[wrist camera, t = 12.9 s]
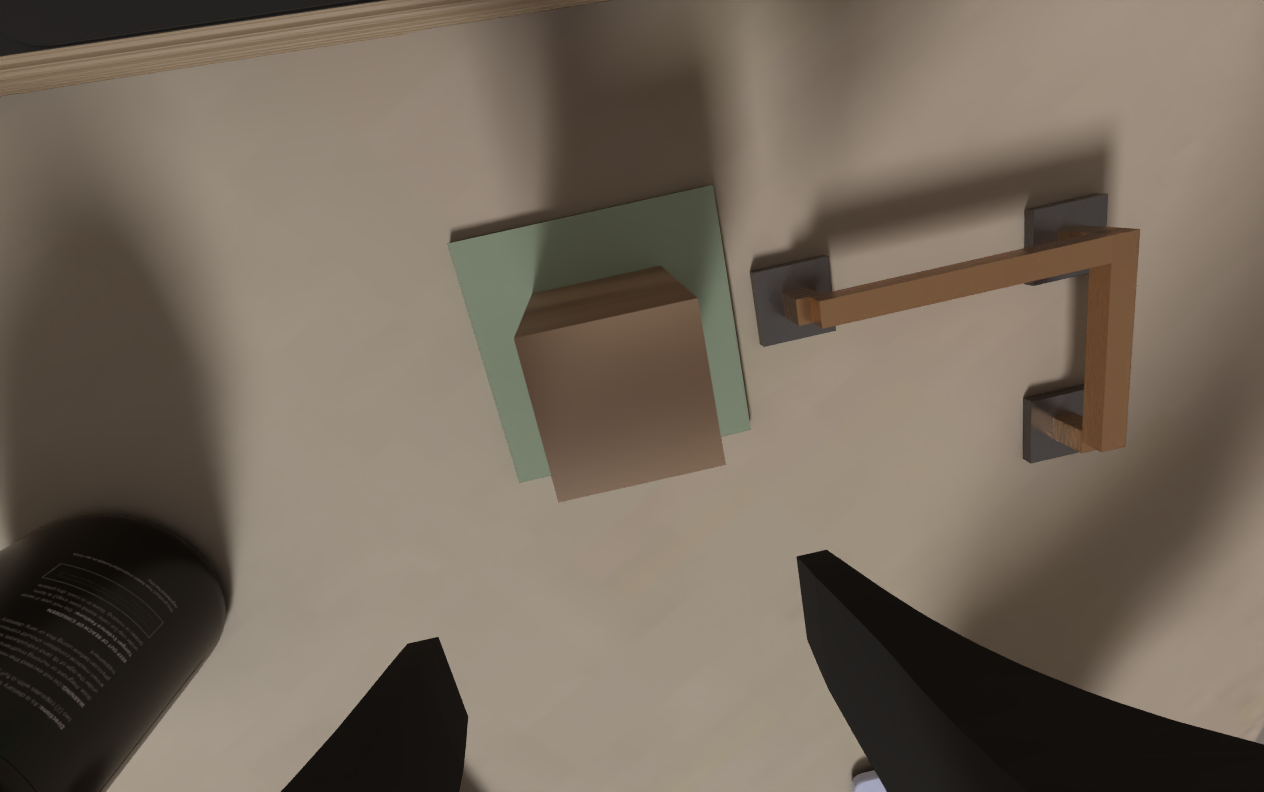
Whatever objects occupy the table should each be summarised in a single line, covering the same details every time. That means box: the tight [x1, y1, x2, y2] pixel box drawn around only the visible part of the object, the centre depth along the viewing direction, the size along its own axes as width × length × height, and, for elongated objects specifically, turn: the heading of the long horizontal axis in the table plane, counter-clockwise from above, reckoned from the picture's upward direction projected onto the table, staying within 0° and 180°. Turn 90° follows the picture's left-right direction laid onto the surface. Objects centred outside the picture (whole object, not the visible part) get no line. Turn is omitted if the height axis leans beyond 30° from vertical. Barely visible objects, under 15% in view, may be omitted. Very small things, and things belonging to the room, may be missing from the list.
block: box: [514, 266, 726, 502], centre depth 16 cm, size 4×4×6 cm
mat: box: [448, 185, 751, 483], centre depth 19 cm, size 8×8×1 cm
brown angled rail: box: [750, 194, 1140, 463], centre depth 20 cm, size 9×11×2 cm
